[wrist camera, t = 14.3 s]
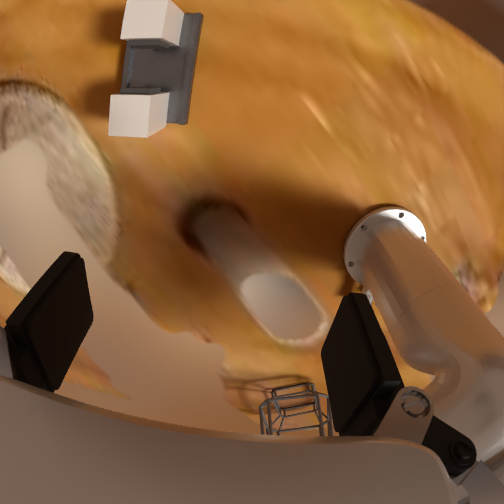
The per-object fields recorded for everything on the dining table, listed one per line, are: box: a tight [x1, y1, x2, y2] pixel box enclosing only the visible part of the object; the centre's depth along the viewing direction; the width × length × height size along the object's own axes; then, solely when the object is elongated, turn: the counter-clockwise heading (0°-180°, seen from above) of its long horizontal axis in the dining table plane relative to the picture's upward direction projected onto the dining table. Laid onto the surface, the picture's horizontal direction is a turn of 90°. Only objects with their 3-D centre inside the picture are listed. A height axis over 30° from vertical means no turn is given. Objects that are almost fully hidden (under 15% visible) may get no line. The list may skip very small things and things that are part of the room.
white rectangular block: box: [108, 87, 169, 138], centre depth 28 cm, size 5×4×7 cm
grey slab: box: [121, 13, 204, 125], centre depth 29 cm, size 13×8×2 cm, turn 171°
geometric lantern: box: [259, 383, 333, 436], centre depth 44 cm, size 16×16×35 cm
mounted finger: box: [120, 0, 184, 49], centre depth 24 cm, size 5×4×7 cm
